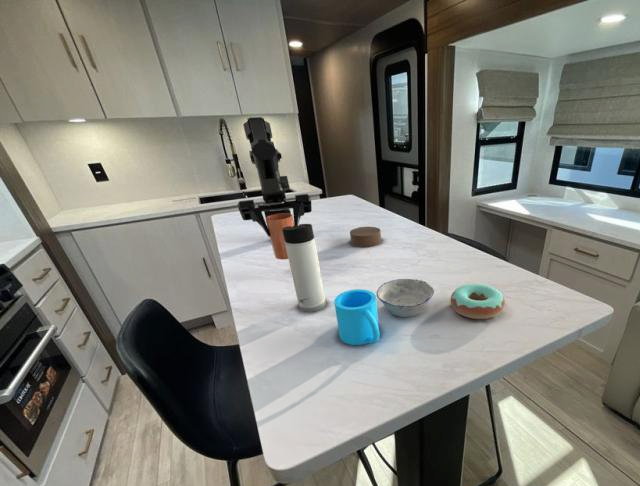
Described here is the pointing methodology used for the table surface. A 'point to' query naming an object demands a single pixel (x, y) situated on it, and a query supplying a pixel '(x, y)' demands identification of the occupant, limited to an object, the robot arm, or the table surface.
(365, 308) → the mug
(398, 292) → the bowl
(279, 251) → the cup
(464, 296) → the donut
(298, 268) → the travel mug
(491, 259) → the table surface
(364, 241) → the stand
